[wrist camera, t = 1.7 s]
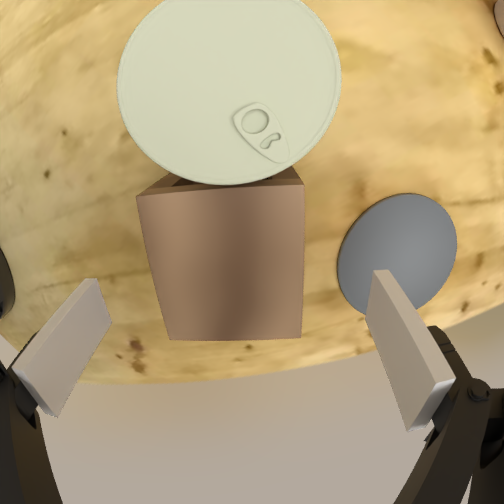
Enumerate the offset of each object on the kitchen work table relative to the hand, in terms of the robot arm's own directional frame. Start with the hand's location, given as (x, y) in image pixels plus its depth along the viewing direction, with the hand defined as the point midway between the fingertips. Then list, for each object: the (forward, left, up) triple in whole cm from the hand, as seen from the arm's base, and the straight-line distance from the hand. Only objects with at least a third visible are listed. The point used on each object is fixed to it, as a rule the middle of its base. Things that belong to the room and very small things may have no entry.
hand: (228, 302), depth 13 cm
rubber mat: (+15, -5, -12) cm, 20 cm away
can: (+1, +10, -12) cm, 16 cm away
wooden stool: (0, 0, -12) cm, 12 cm away
